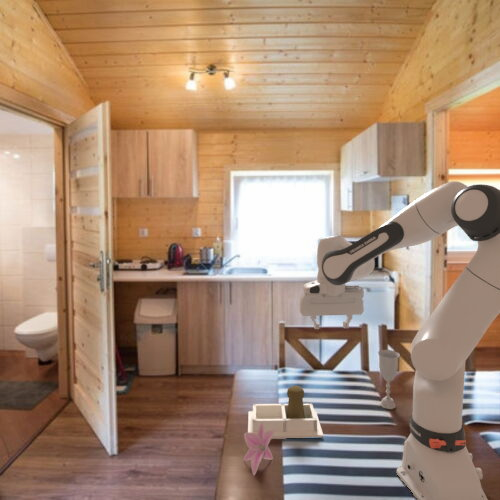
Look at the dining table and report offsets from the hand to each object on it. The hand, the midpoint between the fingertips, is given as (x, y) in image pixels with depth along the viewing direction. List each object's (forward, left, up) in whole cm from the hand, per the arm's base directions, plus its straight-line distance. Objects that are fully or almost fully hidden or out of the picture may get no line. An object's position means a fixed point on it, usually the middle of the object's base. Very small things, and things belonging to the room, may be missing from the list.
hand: (331, 328), depth 128 cm
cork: (-9, +13, -27) cm, 31 cm away
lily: (-27, +24, -28) cm, 46 cm away
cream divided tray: (-9, +16, -28) cm, 34 cm away
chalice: (+3, -20, -28) cm, 35 cm away
